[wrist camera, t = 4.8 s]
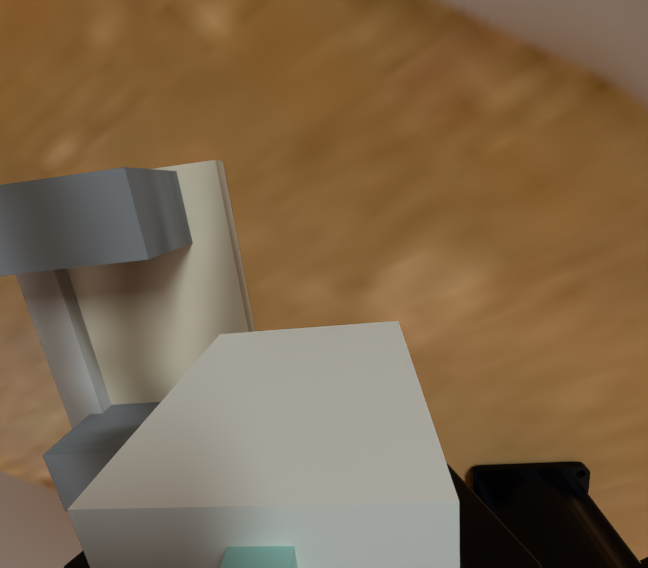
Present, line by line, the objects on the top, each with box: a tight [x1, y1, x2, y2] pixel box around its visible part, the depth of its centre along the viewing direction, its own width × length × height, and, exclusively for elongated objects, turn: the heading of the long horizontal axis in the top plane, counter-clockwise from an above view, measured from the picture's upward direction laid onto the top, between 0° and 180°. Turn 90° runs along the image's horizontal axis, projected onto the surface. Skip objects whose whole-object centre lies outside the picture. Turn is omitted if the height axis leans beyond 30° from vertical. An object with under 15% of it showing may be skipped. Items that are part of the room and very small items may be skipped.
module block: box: [67, 321, 460, 568], centre depth 7 cm, size 4×6×5 cm
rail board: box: [0, 160, 255, 511], centre depth 18 cm, size 12×16×5 cm
